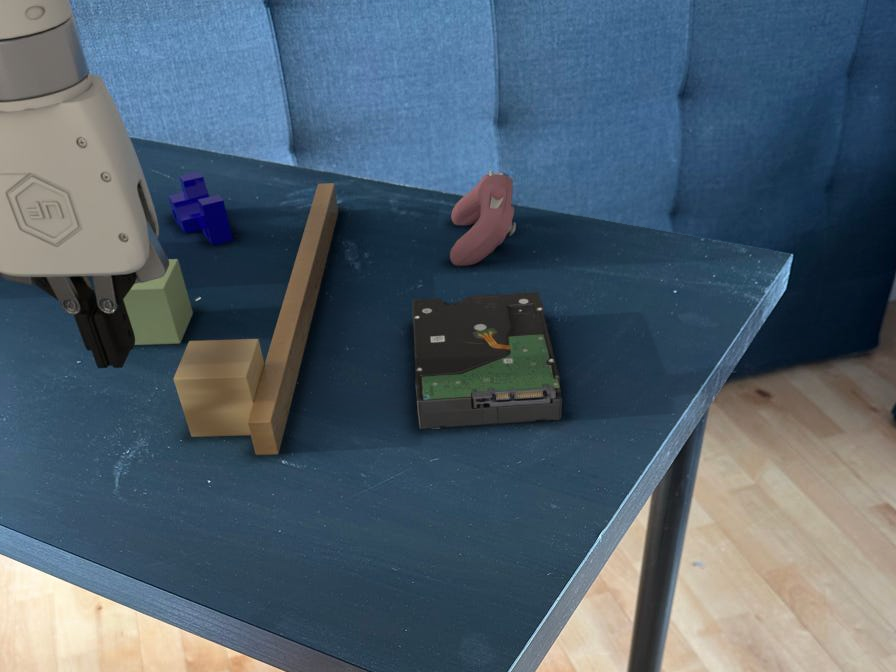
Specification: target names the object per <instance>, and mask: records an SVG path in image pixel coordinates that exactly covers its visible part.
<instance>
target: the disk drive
mask: <svg viewBox="0 0 896 672" xmlns="http://www.w3.org/2000/svg"><path fill="white" fill-rule="evenodd" d="M411 311H412V325H413V341H414V342H413V344H414V348H413V349H414V369H415V380H414V382H415V383H414V384H415V385H414V387H415V394H416V395H415V396H416V406H417V417H418V426H419V429H420V430H427V429H431V430H435V429H450V428H451V429H452V428H461V427H462V428H465V427H480V426H492V425H493V426H494V425H506V424H519V423H520V424H522V423H529V422H530V423H536V422H541V421H542V422H544V421H545V422H547V421H551V420H554V421H559V420H560V419H562V410H563V409H562V407H563V396H562V391H561V385H560V372H559V367H558V366H557V362H556V358H555V354H554V351H553V345H552V342H551V338H550V337H551V336H550V334H549V329H548V325H547V320H546V316H545V311H544V303H543V302H542V299H541V296H540V292H539V291H527V292H515V293H503V294H502V293H498V294H481V295H467V296H466V297H464V298H462V300H459V301H457V302H455V303H453V304H451V303H449V302H447V301H443V299H442V298H441V297H435V298H420V299H419V298H418V299H413V300H412V309H411Z"/></svg>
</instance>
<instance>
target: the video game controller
mask: <svg viewBox="0 0 896 672" xmlns="http://www.w3.org/2000/svg"><path fill="white" fill-rule="evenodd" d="M513 185H514V180H513V178H512V177H510V176H509V175H508V174H506V173H503V172H497V173H494V172H493V170H492V169H490V170H489V172H488V174H484V175H483V176H482V177H481V179H480V180H479V182H478V183H477V184H476V186H474V187H473V188H472V189H471V190H470V191H469V192H468V193H466V194H465V195H464V196H463V197H461V198H460V199H459V200H458V201H457V202H456V204H455V205H454V207H453V208H452V211H451V215H450V216H451V218H450V219H451V221H452V223H453V224H454V225H456V226H472V227H471V228H470V229H469V230H467V231H466V232H465V233H464V234H463V235H461V237H459V238H458V239H457V240H456V242H455V243H454V244H453V246H452V247H451V249H450V252H449V260H450V261H451V263H452V264H453V265H454V266H458V267H459V266H460V267H462V266H465V267H466V266H472V265H475V264H478V263H480V262H481V261H482V260H484V259H485V258H487V257H488V256H489V255H490V254H493V253H494V251H495V249H496V248H498V246H501V244H502V243H503V242H504V241H505V239H506V237H507V235H508V237H512V235H513V234H514V233H515V232H516V229H517V228H516V227H517V226H516V225H517V224H516V222H515V221H513V219H514V215H515V207H514V206H513V205H512V202H513V194H514V186H513Z"/></svg>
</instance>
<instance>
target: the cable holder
mask: <svg viewBox="0 0 896 672" xmlns="http://www.w3.org/2000/svg"><path fill="white" fill-rule="evenodd" d="M178 178H179V183H180V187H181V190H182V192H178V193H174V194H169V195H167V198H168V201H169V206H170V208H171V212H172V216H173V219H174V220H175V222H176V224H177V225H178V226H179V227H180V229H181V230H182V231H183V233H184V234H189V233H194V232H197V231H201V233H202V234H203V235H204V237H205V238H206V239H207V241H208V242H209V244H211V246H215V245H216V246H217V245H220V244H225V243H227V242H232V241H234V239H233V235H232V231H231V226H230V223H229V217H228V213H227V209H226V204H225V201H224V199H223V198H222V196H220V194H215V195H212V196H210V194H209V192H208V189H207V185H206V182H205V178H204V176H203V175H202V173H201V172H200V171H196V172H192V173H187V174H182V175H179V176H178Z"/></svg>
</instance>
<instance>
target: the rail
mask: <svg viewBox="0 0 896 672" xmlns="http://www.w3.org/2000/svg"><path fill="white" fill-rule="evenodd" d="M337 198H338V197H337V192H336V185H335V183H334V182H329V183H317V187H316V190H315V193H314V197H313V200H312V202H311V206H310V211H309V214H308V217H307V220H306V223H305V227H304V231H303V233H302V237H301V241H300V244H299V246H298V250H297V254H296V258H295V261H294V264H293V266H292V267H293V268H292V271H291V274H290V278H289V282H288V283H287V288H286V291H285V294H284V298H283V301H282V304H281V307H280V311H279V315H278V318H277V320H276V321H277V322H276V325H275V328H274V331H273V335H272V339H271V341H270V345H269V347H268V348H269V349H268V352H267V355H266V358H265V362H264V368H263V372H262V375H261V379H260V382H259V385H258V389H257V392H256V395H255V399H254V402H253V406H252V409H251V412H250V416H249V419H248V426H249V430H250V434H251V435H250V438H251V442H252V445H253V448H254V453H255V455H256V456H262V455H265V456H267V455H279V453H280V450H281V445H282V441H283V437H284V433H285V429H286V426H287V422H288V418H289V414H290V410H291V405H292V401H293V397H294V394H295V389H296V385H297V381H298V377H299V373H300V369H301V365H302V361H303V357H304V352H305V349H306V344H307V341H308V336H309V332H310V328H311V324H312V321H313V316H314V312H315V308H316V304H317V300H318V296H319V293H320V287H321V284H322V280H323V276H324V272H325V268H326V263H327V260H328V255H329V253H330V247H331V243H332V239H333V235H334V231H335V227H336V223H337V220H338V216H339V206H338V199H337Z"/></svg>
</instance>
